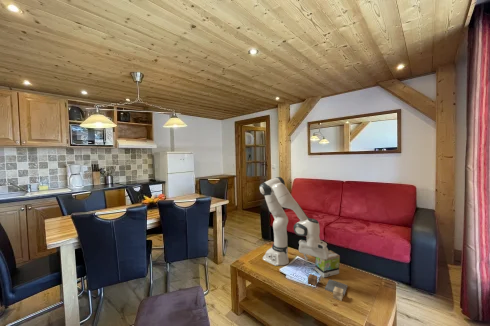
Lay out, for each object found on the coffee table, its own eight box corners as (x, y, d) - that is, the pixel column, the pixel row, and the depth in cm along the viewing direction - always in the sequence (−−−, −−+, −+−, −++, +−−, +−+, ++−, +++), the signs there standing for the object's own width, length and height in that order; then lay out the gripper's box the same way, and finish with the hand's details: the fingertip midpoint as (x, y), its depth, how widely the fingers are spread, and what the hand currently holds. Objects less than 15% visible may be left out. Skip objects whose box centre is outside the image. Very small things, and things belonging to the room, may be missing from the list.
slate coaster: (324, 289, 143) (324, 287, 143) (329, 280, 153) (329, 279, 153) (344, 296, 136) (344, 294, 136) (347, 286, 146) (347, 285, 146)
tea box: (324, 278, 156) (324, 258, 155) (314, 271, 165) (315, 252, 165) (339, 274, 162) (340, 255, 161) (329, 267, 171) (330, 249, 170)
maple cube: (333, 298, 135) (333, 290, 135) (334, 293, 139) (335, 286, 139) (341, 301, 132) (341, 293, 132) (343, 296, 136) (343, 289, 136)
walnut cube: (307, 284, 149) (307, 277, 149) (310, 280, 154) (310, 273, 153) (314, 286, 147) (315, 279, 146) (317, 282, 151) (317, 276, 150)
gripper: (297, 240, 152) (297, 259, 152) (326, 247, 140) (326, 267, 141) (300, 237, 157) (300, 255, 158) (329, 244, 145) (329, 263, 146)
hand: (313, 261), depth 149 cm, fingers open, 8 cm apart
